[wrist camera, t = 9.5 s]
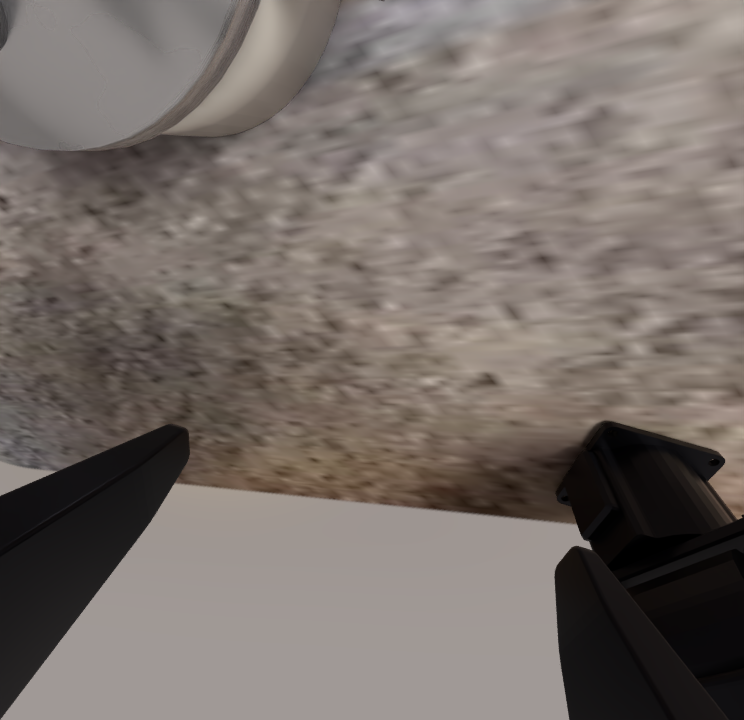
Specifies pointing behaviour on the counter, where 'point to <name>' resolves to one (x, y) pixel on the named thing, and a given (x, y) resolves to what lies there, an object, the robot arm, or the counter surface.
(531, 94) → the counter surface
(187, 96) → the cooker lid
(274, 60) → the cooker pot
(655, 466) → the robot arm
